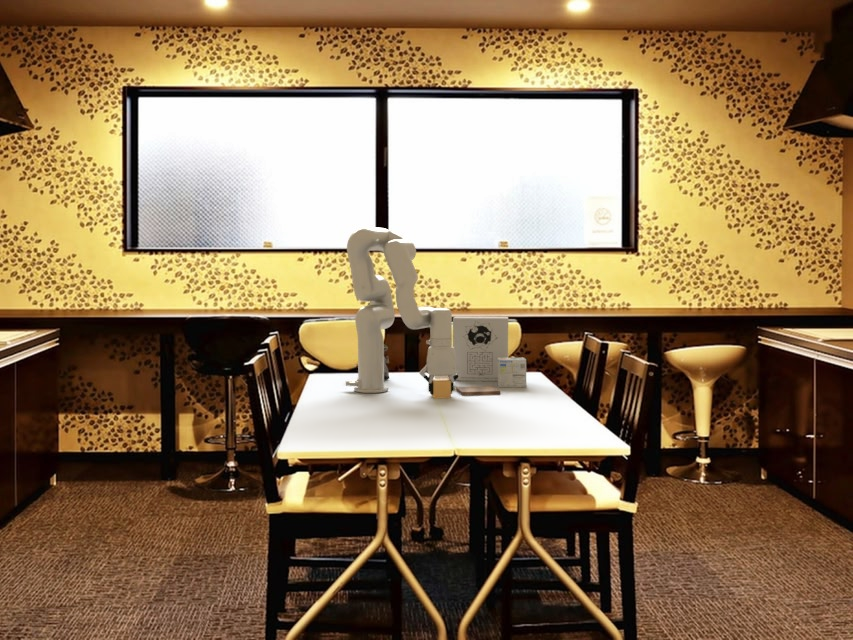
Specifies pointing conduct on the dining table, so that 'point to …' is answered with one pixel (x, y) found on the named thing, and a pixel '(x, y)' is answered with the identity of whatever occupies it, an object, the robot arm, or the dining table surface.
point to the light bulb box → (511, 372)
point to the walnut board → (478, 390)
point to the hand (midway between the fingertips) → (440, 393)
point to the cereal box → (479, 346)
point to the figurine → (386, 373)
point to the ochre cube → (441, 388)
